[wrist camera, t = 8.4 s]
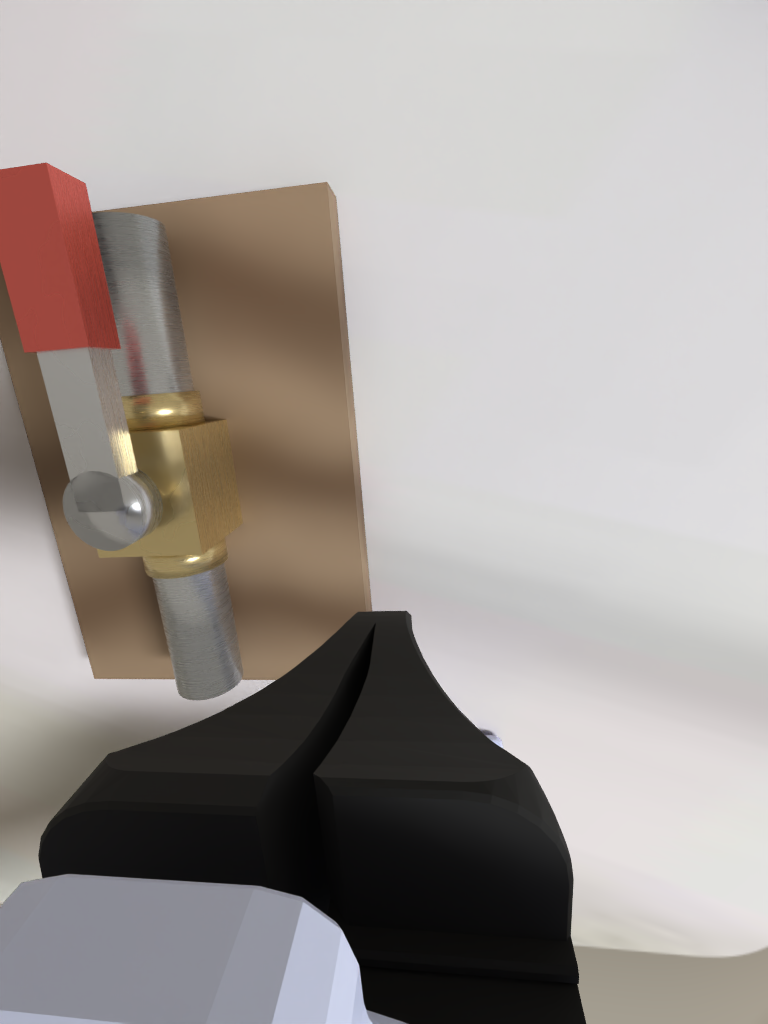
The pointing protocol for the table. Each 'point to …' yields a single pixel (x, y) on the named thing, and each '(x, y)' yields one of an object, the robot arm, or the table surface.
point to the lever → (74, 350)
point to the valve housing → (173, 458)
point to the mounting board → (239, 434)
